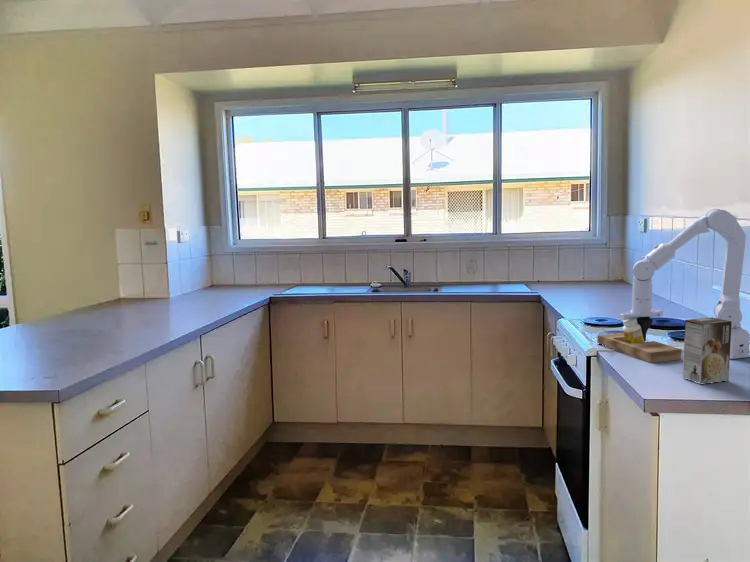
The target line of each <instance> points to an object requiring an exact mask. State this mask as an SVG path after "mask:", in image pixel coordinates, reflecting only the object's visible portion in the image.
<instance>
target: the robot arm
mask: <svg viewBox="0 0 750 562" xmlns="http://www.w3.org/2000/svg"><path fill="white" fill-rule="evenodd" d="M710 230H712V231H713V232H716V233H717V234H719V235H720V236H721V237H722V238H723V240H725V241H726V244H725V253H724V262H723V271H722V277H721V278H722V279H721V286H720V294H719V296H718V299H717V300H718V301H717V303H716V305H715V306H714V308H713V314H714V316H715V318H717V319H722V320H727V321H732V323H731V343H730V360H735V359H742V358H743V359H744V358H750V354H749V353H750V333H749V331H747V329H744V328H743V327H742V324H741V321H743V313H742V311H741V300H740V299H741V298H740V289H741V283H742V275H743V267H744V266H743V265H744V259H745V250H746V241H747V235H746V233H745V231H744V229H743V228H742V226H741V225H740V223H739V221H738V220H737V217H736V216H734V215H733V214H732V213H730V212H729V211H727V210H725V209H720V208H713V209H710V210H709V211H708V212H707V213H706V214H704V215H702V216H700V217H698V218H697V219H696V220H694V221H692V222H691V223H690V224H689V225H688V226H686V227H685V228H684V229H683V230H682V231H681V232H679V233H678V234H677V235H676V236H675V237H673V238H672V239H671V240H670V241H669V242H668V243H660V244H655V245H654V246H653V249H652V250H651V251H650V252H649V253H647V254H646V255H642V256H641V257H640V258H641V260H638V261H636V262H635V263H634V265H633V266H632V273H633V278H632V287H631V288H632V289H631V290H632V292H631V310H630V311H626V312H623V313H621V312H620V313H619V320H622V321H623V320H624V321H625V320H629V319H633V318H636V319H637V324H639V325H640V326H641V330H642V334H643V338H644V342H646V339H647V332H648V330H649V328H650V326H651V325H652V323H653V321H654V320H653V319H654V318H656V317H659V318H660V317H661V318H662V317H663V311H664V310H661V309H653V308H652V305H653V303H652V302H653V283H652V281H653V280H652V279H653V277H654V274H655V271H659V270H660V269H661V268H662V267H664V266H665V265H667V264H668V263H669V262H671V261H672V260H673V259H674V258H675V257H676V251H677V250H679V249H680V248H681V247H682V246H684V245H685V244H687V243H688V242H689V241H691V240H692V239H693V238H695V237H696V236H698V235H701V234H706V233H710V232H711V231H710ZM652 318H653V319H652Z"/></svg>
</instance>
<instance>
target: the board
mask: <svg viewBox="0 0 750 562" xmlns="http://www.w3.org/2000/svg"><path fill="white" fill-rule="evenodd" d="M596 340H597V343H599V344H603V345H606V346H608V347H610V348H612V349H611V350H613V351H616V352H619V353H621V354H625V355H627V356H630V357H634V358H636V359H638V360H641V361H644V362H647V363H650V364H652V363H661V362H669V361H675V360H676V361H677V360H679V361H680V360H682V348H678V347H675V346H672V345H668V344H665V343H662V342H659V341H654V340H652V341H644V342H641V343H631V344H628V343H626V341H625V337H624V333H623V332H615V333H607V334H606V333H605V334H598V335H597V339H596ZM599 344H598V345H599ZM610 348H609V349H610Z"/></svg>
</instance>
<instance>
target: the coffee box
mask: <svg viewBox="0 0 750 562" xmlns="http://www.w3.org/2000/svg"><path fill="white" fill-rule="evenodd" d="M731 323H732V321H727V320H722V319H717V318H716V317H702V318H700V317H699V318H691V319H690V318H689V319H685V320H684V343H683V363H682V365H683V366H682V378H683V377H684V378H687V379H690V380H693V381H696V382H699V383H711V382H718V383H723V382H722V381H725V382H729V381H730V380H729V379H730V378H729V375H730V360H731V359H730V343H731ZM711 384H712V383H711Z"/></svg>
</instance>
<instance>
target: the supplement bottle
mask: <svg viewBox="0 0 750 562" xmlns="http://www.w3.org/2000/svg"><path fill="white" fill-rule="evenodd" d="M622 323H623V325H624V326H623V327H622V333H624V337H625V341H626V343H628V344H631V343H641V342H645V341H644V338H643V334H642V330H641V326H640V325H639V324H637V319H636V318H633V319H629V320H625V321H624V320H622Z"/></svg>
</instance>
